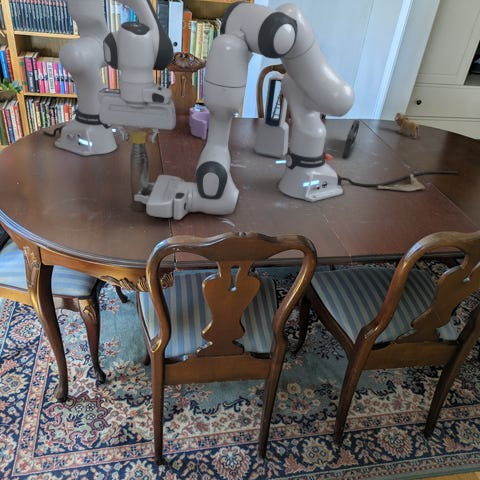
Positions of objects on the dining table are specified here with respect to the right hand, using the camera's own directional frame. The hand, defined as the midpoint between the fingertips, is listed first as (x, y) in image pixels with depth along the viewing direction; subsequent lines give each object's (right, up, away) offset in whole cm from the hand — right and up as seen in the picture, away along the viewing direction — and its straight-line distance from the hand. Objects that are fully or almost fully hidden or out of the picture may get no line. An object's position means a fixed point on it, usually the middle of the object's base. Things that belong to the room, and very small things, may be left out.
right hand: (137, 191), depth 138 cm
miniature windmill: (+48, +38, +77) cm, 98 cm away
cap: (+2, +15, -10) cm, 18 cm away
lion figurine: (+109, +36, +83) cm, 142 cm away
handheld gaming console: (+77, +24, +59) cm, 100 cm away
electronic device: (+42, +20, +47) cm, 67 cm away
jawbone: (+88, +6, +34) cm, 94 cm away
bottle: (0, -4, +3) cm, 5 cm away
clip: (+15, +33, +63) cm, 72 cm away
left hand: (+2, +13, -8) cm, 16 cm away
